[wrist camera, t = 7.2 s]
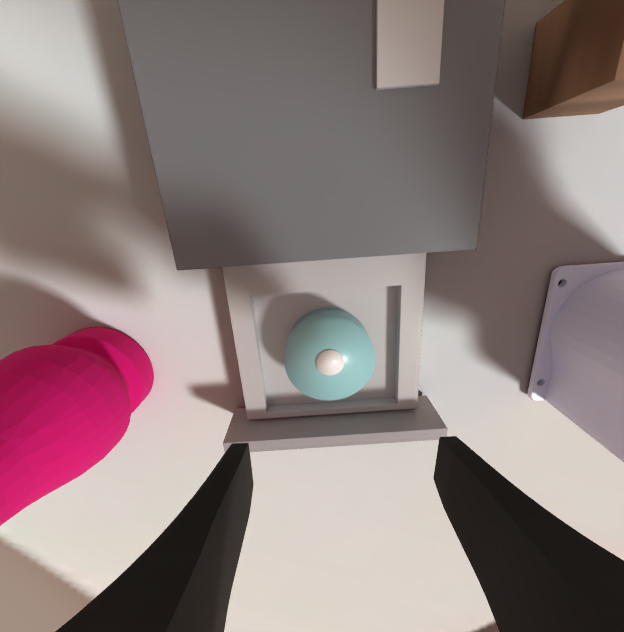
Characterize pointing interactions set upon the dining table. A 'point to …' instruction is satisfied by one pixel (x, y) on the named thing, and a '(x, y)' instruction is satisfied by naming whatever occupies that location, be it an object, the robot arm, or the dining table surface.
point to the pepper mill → (65, 410)
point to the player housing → (316, 124)
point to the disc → (329, 354)
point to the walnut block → (577, 60)
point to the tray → (381, 326)
